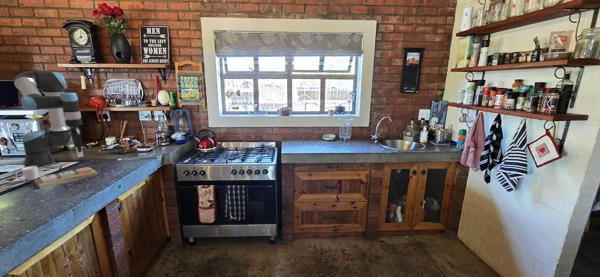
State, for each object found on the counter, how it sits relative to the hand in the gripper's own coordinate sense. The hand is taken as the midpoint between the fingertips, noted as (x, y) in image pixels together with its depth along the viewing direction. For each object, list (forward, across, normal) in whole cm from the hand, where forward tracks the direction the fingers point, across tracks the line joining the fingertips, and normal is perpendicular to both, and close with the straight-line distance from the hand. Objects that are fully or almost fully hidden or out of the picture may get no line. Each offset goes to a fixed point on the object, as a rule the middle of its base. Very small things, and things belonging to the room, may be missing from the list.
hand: (80, 156), depth 155 cm
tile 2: (+11, 0, -8) cm, 13 cm away
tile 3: (+11, 0, 0) cm, 11 cm away
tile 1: (+11, 0, -16) cm, 19 cm away
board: (+13, 0, -8) cm, 15 cm away
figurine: (+13, -38, +39) cm, 56 cm away
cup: (+13, -16, -22) cm, 30 cm away
